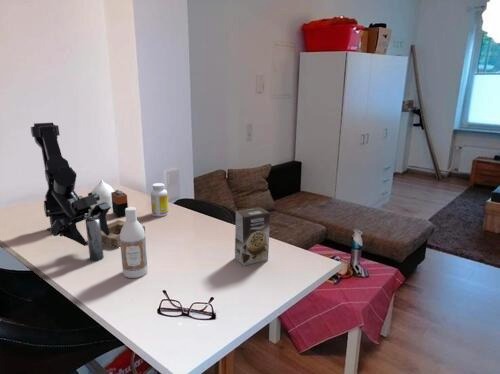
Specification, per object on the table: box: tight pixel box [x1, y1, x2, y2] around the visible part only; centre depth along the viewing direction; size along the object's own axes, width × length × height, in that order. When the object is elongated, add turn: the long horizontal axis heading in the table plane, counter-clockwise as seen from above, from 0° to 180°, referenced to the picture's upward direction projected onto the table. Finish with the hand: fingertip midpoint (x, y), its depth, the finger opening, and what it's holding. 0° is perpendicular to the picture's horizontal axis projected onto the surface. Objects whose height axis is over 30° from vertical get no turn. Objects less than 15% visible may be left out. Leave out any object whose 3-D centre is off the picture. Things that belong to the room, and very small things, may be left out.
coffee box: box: [234, 206, 271, 267], centre depth 117 cm, size 9×6×16 cm
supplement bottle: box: [150, 182, 169, 218], centre depth 154 cm, size 7×7×13 cm
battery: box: [111, 189, 129, 218], centre depth 154 cm, size 4×7×10 cm, turn 38°
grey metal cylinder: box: [84, 217, 105, 262], centre depth 117 cm, size 4×4×13 cm
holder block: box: [101, 219, 146, 249], centre depth 134 cm, size 13×13×3 cm
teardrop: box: [91, 178, 115, 209], centre depth 164 cm, size 11×11×12 cm
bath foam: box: [119, 206, 148, 279], centre depth 107 cm, size 7×7×20 cm
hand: (97, 239), depth 116 cm, fingers open, 8 cm apart
